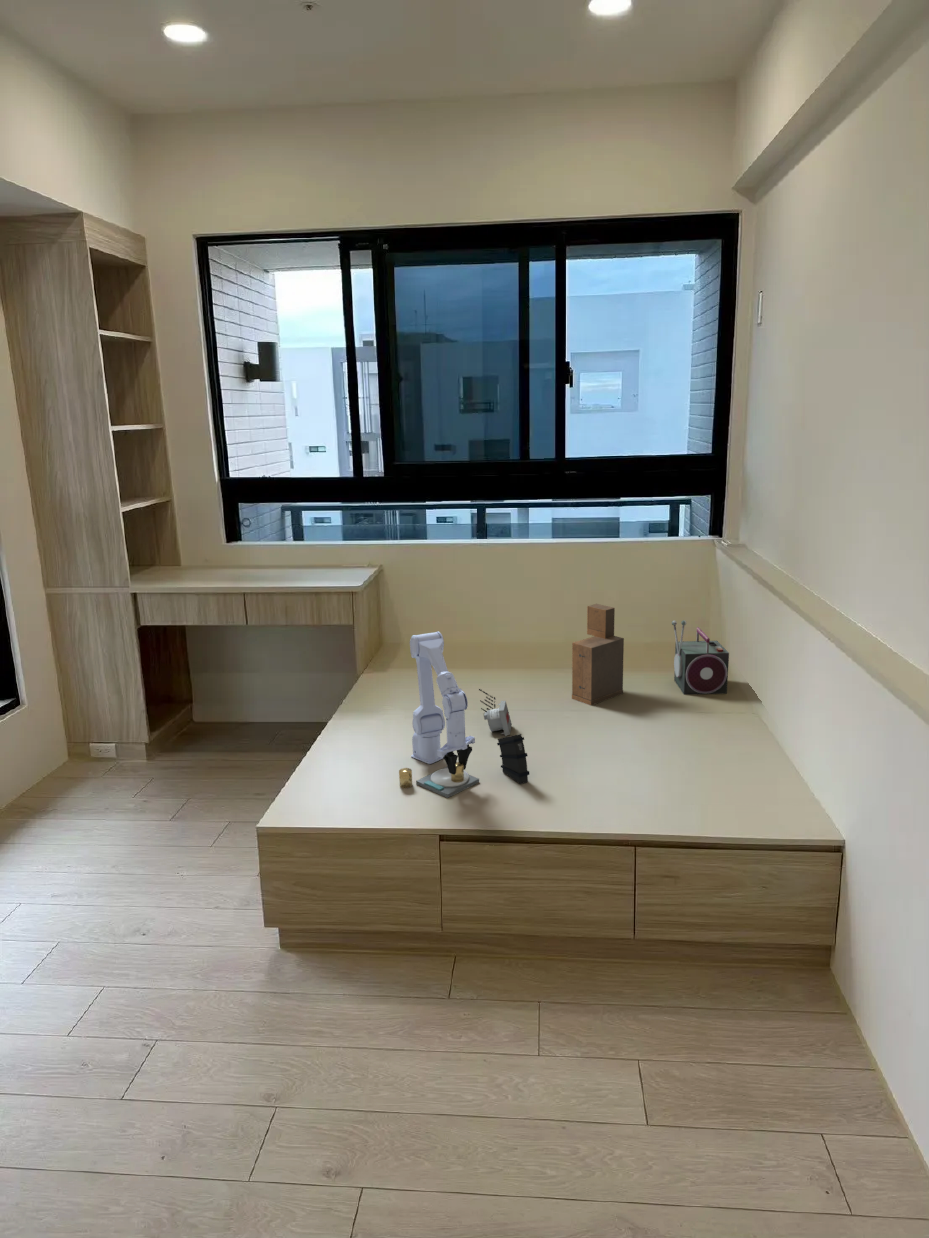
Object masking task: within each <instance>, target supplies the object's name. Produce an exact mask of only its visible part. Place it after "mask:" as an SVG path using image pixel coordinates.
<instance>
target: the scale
mask: <svg viewBox="0 0 929 1238" xmlns="http://www.w3.org/2000/svg"><path fill="white" fill-rule="evenodd" d="M478 783H480V778H478V777H476V776H473V775H471V774H469V773H468V772H467V771H466V770H464V781H462V782H453V781H451V773H449V770H448V767H447V766H444V767H443V768H441V769H438V770H436V771H433V772H432V773H430V774H427V775H426V776H424V777H421V778H419V779H417V780H415V784H416V785H417V786H419V787H422V788H424V789H426V790H428V791H430V792H433V793H436V794H438V795H439V796H442V797H445V798H446V799H448V798H450V797H453V796H454V795H456V794H459V793H460V792H463V791H464V790H466V789H468V788H471V787H472V786H474V785H477V784H478Z"/></svg>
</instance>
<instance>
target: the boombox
mask: <svg viewBox="0 0 929 1238" xmlns="http://www.w3.org/2000/svg"><path fill="white" fill-rule="evenodd" d="M677 624H678V622H677V620H672V621H671V625H672V626H673V632H674V637H675V638H674V639H675V647H674V648H675V649H674V650H675V651H674V657H673V666H674V667H673V669H674V677H673V678H674V680H673V681H674V682H675V684H676V685H677V687H678V689H679V690H680V692H681V693H682V694H683V696H684V695H718V694H719V695H722V694H723V695H725V694H728V681H729V663H730V662H729V659H730V658H729V657H730V652H729V651H728V649H726V648H725V647H724V646H723V645H722V644H721V643H720V642H719V641H718V640H710V637H709V636H708V635H707V634H706V633H705V632H704V631H703V630H702V629H701V628H700V627H698V626H697V627H696V640H689V641H688V640H687V641H685V640H684V641H683V638H684V632H685V631H684V630H685V626H686V625H687V621H686V620H684V619H683V620H681V622H680V624H681V625H682V626H681V633H680V641H679V639H678V634H677V633H678V632H677V626H676V625H677ZM700 637H701V638H702V639H703V640H699V639H700Z"/></svg>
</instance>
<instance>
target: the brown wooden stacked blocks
mask: <svg viewBox="0 0 929 1238" xmlns="http://www.w3.org/2000/svg"><path fill="white" fill-rule="evenodd" d="M586 608H587V611H586V612H587V613H586V616H587V617H586V618H587V619H586V629H587V630H586V634H587V635H588V636H591V637H588V638H584V639H581V640H577V641H574V642H572V646H571V647H572V649H571V650H572V656H571V657H572V659H571V661H572V664H571V665H572V667H571V670H572V672H571V675H572V678H571V680H572V682H571V684H572V685H571V690H572V691H571V692H572V693H571V700H575V701H577V702H580V703H583V704H586V705H588V706H593V705H596V704H598V703H601V702H604V701H607V700H610V699H612V698H614V697H618V696H619V695H620V696H621V695H623V694H624V651H625V650H624V649H625V648H624V645H625V642H624V640H625V639H624V637H621V636H616V635H615V607H613V606H608V605H604V604H599V603H595V604H590V605H587V607H586Z"/></svg>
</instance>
